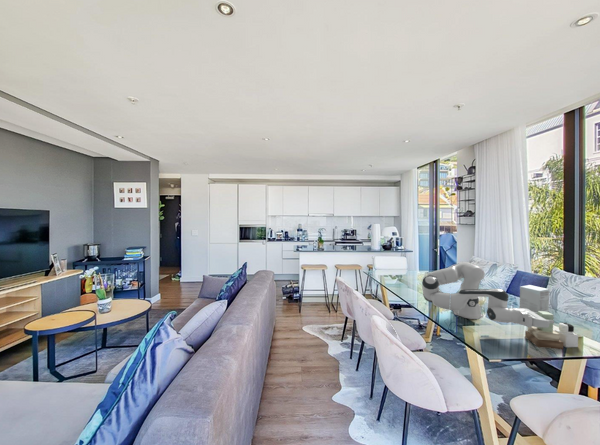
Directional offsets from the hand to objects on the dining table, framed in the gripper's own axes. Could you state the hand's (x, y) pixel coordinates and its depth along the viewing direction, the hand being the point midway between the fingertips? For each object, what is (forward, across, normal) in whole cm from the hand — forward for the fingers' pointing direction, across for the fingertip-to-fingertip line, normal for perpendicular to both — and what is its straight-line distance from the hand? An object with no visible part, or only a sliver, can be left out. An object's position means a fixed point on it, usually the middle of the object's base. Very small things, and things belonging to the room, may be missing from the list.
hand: (547, 318), depth 154 cm
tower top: (-2, 0, -11) cm, 11 cm away
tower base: (-2, 0, -15) cm, 15 cm away
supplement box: (+27, -60, -15) cm, 68 cm away
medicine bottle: (+10, -1, -15) cm, 18 cm away
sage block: (-1, 0, -7) cm, 7 cm away
